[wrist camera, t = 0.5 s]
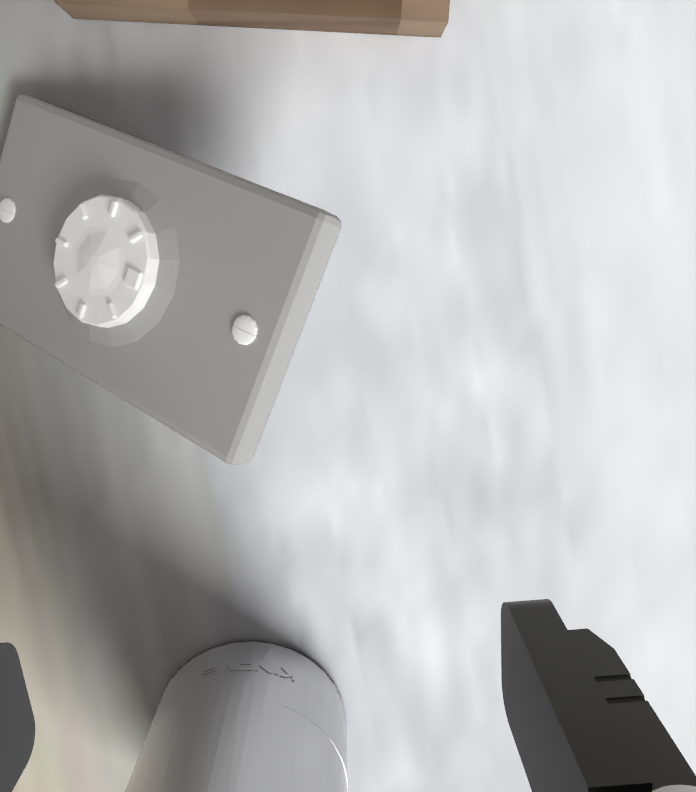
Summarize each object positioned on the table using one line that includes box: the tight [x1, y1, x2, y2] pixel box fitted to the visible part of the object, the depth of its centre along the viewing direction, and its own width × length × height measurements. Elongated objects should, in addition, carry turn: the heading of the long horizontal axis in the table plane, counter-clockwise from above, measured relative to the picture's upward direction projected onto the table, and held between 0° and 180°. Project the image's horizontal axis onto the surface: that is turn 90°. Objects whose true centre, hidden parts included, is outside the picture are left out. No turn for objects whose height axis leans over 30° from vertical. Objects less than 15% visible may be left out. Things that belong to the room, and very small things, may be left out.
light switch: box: [0, 95, 341, 465], centre depth 24 cm, size 8×6×14 cm
